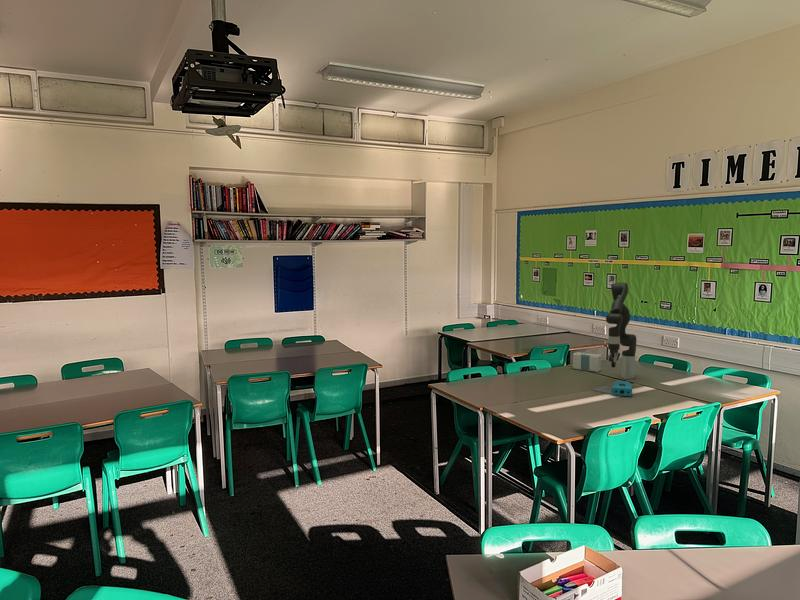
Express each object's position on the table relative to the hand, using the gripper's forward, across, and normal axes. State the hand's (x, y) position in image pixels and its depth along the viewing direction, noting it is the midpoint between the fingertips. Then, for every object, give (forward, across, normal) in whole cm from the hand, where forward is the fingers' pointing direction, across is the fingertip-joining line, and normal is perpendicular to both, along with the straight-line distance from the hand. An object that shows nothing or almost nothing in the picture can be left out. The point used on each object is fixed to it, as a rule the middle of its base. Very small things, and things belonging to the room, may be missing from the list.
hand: (613, 367), depth 382 cm
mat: (+16, +4, 0) cm, 16 cm away
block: (+13, -7, +3) cm, 15 cm away
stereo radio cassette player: (+16, -37, -47) cm, 62 cm away
